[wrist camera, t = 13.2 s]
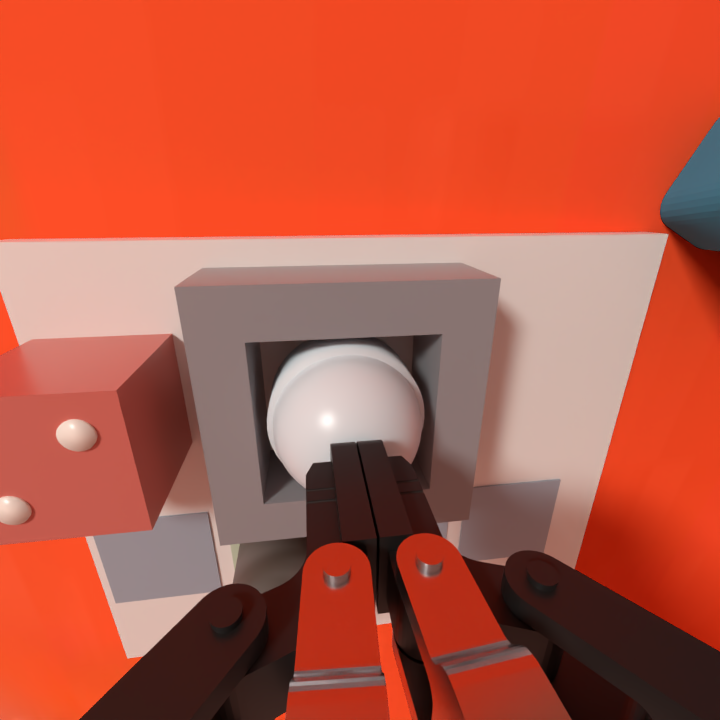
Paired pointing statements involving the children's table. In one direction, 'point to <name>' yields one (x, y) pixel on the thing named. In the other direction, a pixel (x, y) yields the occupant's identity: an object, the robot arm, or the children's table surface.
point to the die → (89, 435)
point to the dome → (342, 402)
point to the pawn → (269, 562)
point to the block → (697, 196)
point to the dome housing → (333, 321)
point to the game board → (506, 370)
